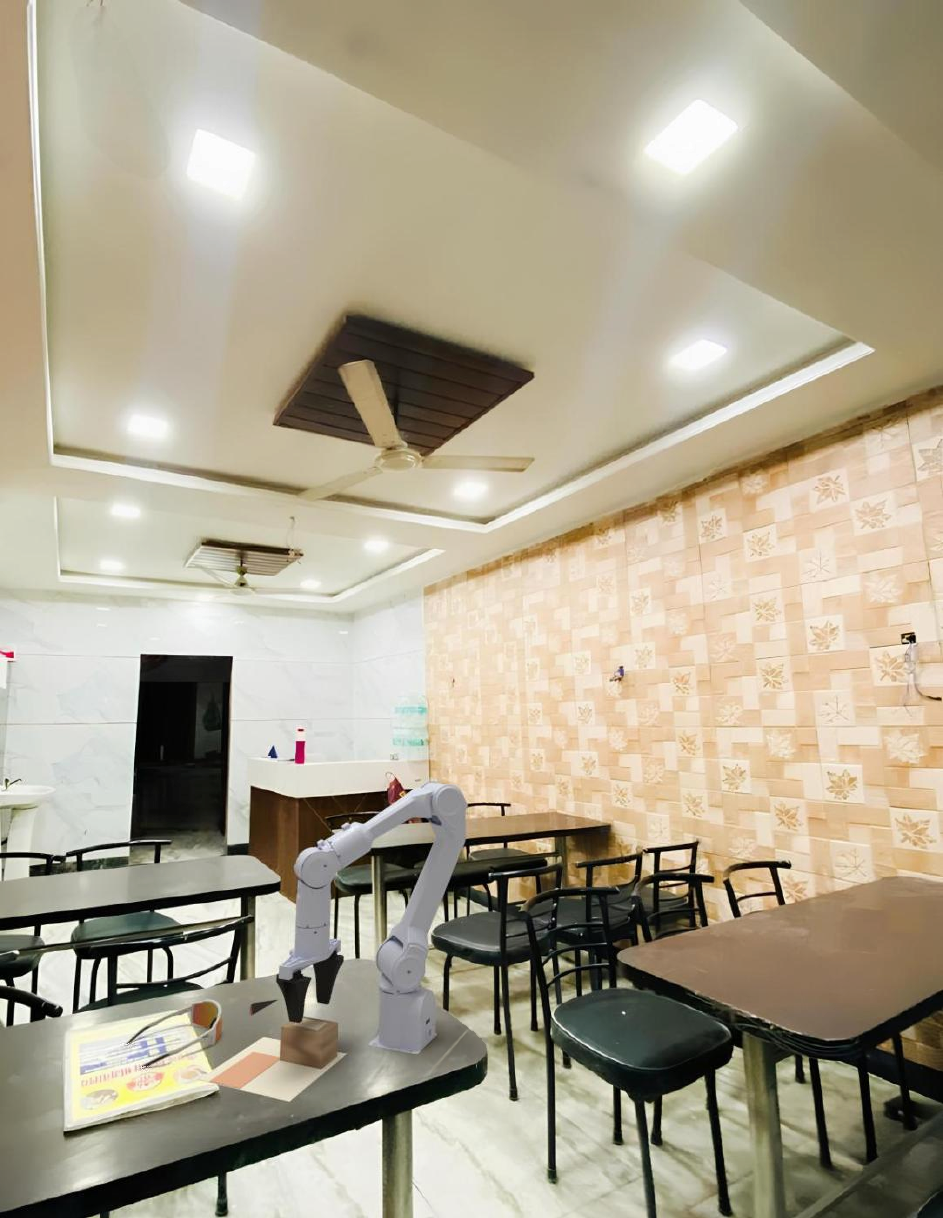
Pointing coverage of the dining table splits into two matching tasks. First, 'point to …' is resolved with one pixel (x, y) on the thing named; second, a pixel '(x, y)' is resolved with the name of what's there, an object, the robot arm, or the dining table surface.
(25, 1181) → the dining table surface
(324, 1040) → the card box
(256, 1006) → the smartphone
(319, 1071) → the mat
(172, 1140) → the dining table surface
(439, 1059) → the dining table surface
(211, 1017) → the sunglasses
